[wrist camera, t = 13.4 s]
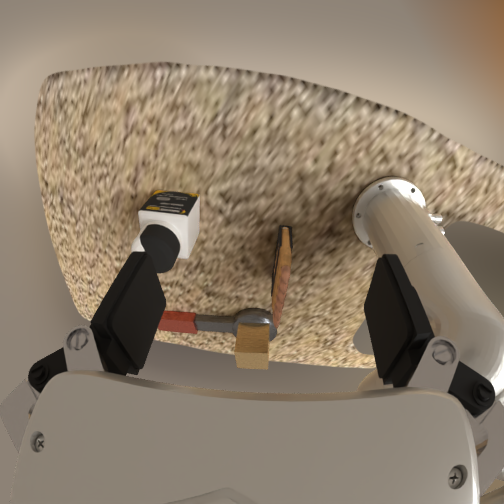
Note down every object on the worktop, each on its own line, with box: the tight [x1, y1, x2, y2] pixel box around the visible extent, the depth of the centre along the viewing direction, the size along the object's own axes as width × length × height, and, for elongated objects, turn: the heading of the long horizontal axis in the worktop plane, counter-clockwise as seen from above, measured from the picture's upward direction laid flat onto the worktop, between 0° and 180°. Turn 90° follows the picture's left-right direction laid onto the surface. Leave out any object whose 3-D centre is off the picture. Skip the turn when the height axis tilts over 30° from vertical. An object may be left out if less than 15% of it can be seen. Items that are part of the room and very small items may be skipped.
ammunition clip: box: [271, 225, 293, 328], centre depth 41 cm, size 11×2×12 cm, turn 176°
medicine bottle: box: [131, 190, 200, 273], centre depth 37 cm, size 7×7×12 cm
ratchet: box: [158, 308, 277, 341], centre depth 55 cm, size 26×9×6 cm, turn 93°
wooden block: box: [234, 322, 270, 369], centre depth 52 cm, size 6×6×7 cm
